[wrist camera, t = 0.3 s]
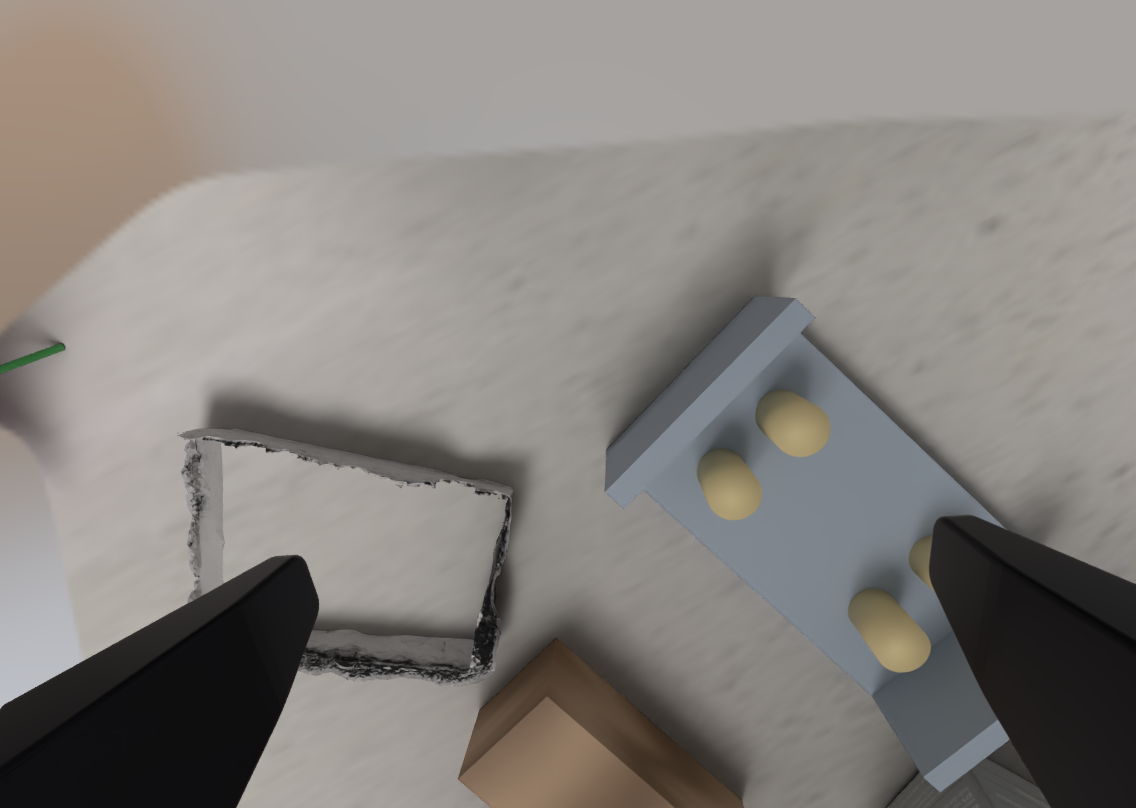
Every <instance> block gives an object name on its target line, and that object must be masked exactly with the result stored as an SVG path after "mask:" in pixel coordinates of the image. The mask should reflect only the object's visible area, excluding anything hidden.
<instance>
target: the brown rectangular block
mask: <svg viewBox="0 0 1136 808" xmlns="http://www.w3.org/2000/svg"><path fill="white" fill-rule="evenodd" d="M458 780H459V781H460V782H461V783H463V784H464V785H465V786H466V787H467V788H469V789H470V790H471V791H472V792H473V793H475V794H476V795H477V796H478V797H479V798H480V799H482V800H483V801H484V802H485V803H486V804H488V805H489V806H490V807H491V808H744V806H743V802H742V801H741V800H740V799H739V798H738V797H737V796H736V795H734V794H733V793H732V792H731V791H730V790H729V789H728V788H727V787H725V786H724V785H723V784H722V783H721V782H720V781H719V780H717V779H716V778H715V777H714V776H713V775H712V774H711V773H709V772H708V771H707V770H706V769H705V768H704V767H703V766H702V765H700V764H699V763H698V762H697V761H696V760H695V759H694V758H692V757H691V756H690V755H689V754H688V753H687V752H686V751H685V750H683V749H682V748H681V747H680V746H679V745H678V744H677V743H675V742H674V741H673V740H672V739H671V738H670V737H669V736H667V735H666V734H665V733H664V732H663V731H662V730H661V729H660V728H658V727H657V726H656V725H655V724H654V723H653V722H652V721H650V720H649V719H648V718H647V717H646V716H645V715H644V714H643V713H641V712H640V711H639V710H638V709H637V708H636V707H635V706H633V705H632V704H631V703H630V702H629V701H628V700H627V699H625V698H624V697H623V696H622V695H621V694H620V693H619V692H618V691H616V690H615V689H614V688H613V687H612V686H611V685H610V684H608V683H607V682H606V681H605V680H604V679H603V678H602V677H600V676H599V675H598V674H597V673H596V672H595V671H594V670H593V669H591V668H590V667H589V666H588V665H587V664H586V663H585V662H583V661H582V660H581V659H580V658H579V657H578V656H577V655H576V654H574V653H573V652H572V651H571V650H570V649H569V648H568V647H566V646H565V645H564V644H563V643H562V642H561V641H560V640H558V639H557V638H555V639H554V640H553V641H552V642H551V643H550V644H549V645H548V646H547V647H546V648H545V649H544V650H543V651H542V652H541V653H540V654H539V655H538V656H537V657H535V658H534V659H533V660H532V661H531V662H530V663H529V664H528V665H527V666H526V667H525V668H524V669H523V670H522V671H521V672H520V673H519V674H518V675H516V676H515V677H514V678H513V679H512V680H511V681H510V682H509V683H508V684H507V685H506V686H505V687H504V688H503V689H502V690H501V691H500V692H499V693H498V694H496V695H495V696H494V697H493V698H492V699H491V700H490V701H489V702H488V703H487V704H486V705H485V706H484V707H483V708H482V709H481V710H480V711H479V713H478V716H477V720H476V723H475V726H474V729H473V732H472V735H471V739H470V742H469V745H468V748H467V751H466V755H465V758H464V761H463V764H462V767H461V770H460V774H459V777H458Z"/></svg>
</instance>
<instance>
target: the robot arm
mask: <svg viewBox="0 0 1136 808" xmlns="http://www.w3.org/2000/svg"><path fill="white" fill-rule="evenodd" d="M929 577H930V581H931V584H932V587H933V589H934V591H935V593H936V595H937V598H938V600H939V602H940V604H941V606H942V608H943V611H944V613H945V615H946V617H947V619H948V621H949V624H950V626H951V628H952V630H953V632H954V634H955V636H956V639H957V641H958V643H959V645H960V647H961V649H962V652H963V654H964V656H965V658H966V660H967V662H968V664H969V667H970V669H971V671H972V673H973V675H974V677H975V679H976V681H977V683H978V685H979V687H980V689H981V691H982V693H983V695H984V696H985V698H986V700H987V702H988V704H989V705H990V707H991V709H992V711H993V712H994V714H995V716H996V717H997V719H998V721H999V722H1000V724H1001V726H1002V727H1003V729H1004V731H1005V732H1006V734H1007V736H1008V737H1009V739H1010V741H1011V742H1012V744H1013V746H1014V747H1015V749H1016V751H1017V752H1018V754H1019V756H1020V757H1021V759H1022V761H1023V762H1024V764H1025V766H1026V767H1027V769H1028V771H1029V772H1030V774H1031V776H1032V777H1033V779H1034V781H1035V782H1036V784H1037V786H1038V787H1039V789H1040V791H1041V792H1042V794H1043V796H1044V797H1045V799H1046V801H1047V802H1048V804H1049V806H1050V807H1051V808H1136V584H1134V583H1132V582H1129V581H1127V580H1125V579H1122V578H1120V577H1118V576H1115V575H1113V574H1111V573H1108V572H1106V571H1104V570H1101V569H1099V568H1096V567H1094V566H1092V565H1089V564H1087V563H1085V562H1082V561H1080V560H1078V559H1075V558H1073V557H1070V556H1068V555H1066V554H1063V553H1061V552H1059V551H1056V550H1054V549H1052V548H1049V547H1047V546H1045V545H1042V544H1040V543H1037V542H1035V541H1033V540H1030V539H1028V538H1026V537H1023V536H1021V535H1019V534H1016V533H1014V532H1012V531H1009V530H1007V529H1004V528H1002V527H1000V526H997V525H995V524H993V523H990V522H988V521H986V520H983V519H981V518H979V517H976V516H973V515H953V516H941V517H939V518H938V519H937V520H936V521H935V523H934V527H933V534H932V542H931V551H930V560H929ZM318 611H319V599H318V595H317V592H316V589H315V586H314V584H313V581H312V578H311V575H310V572H309V569H308V566H307V564H306V561H305V560H304V559H303V558H302V557H301V556H299V555H286V556H275V557H271V558H269V559H267V560H266V561H264V562H262V563H260V564H258V565H257V566H255V567H253V568H251V569H249V570H248V571H246V572H244V573H242V574H240V575H238V576H237V577H235V578H233V579H231V580H229V581H228V582H226V583H224V584H222V585H220V586H218V587H217V588H215V589H213V590H211V591H209V592H208V593H206V594H204V595H202V596H200V597H199V598H197V599H195V600H193V601H191V602H189V603H188V604H186V605H184V606H182V607H180V608H179V609H177V610H175V611H173V612H171V613H170V614H168V615H166V616H164V617H162V618H160V619H159V620H157V621H155V622H153V623H151V624H150V625H148V626H146V627H144V628H142V629H140V630H139V631H137V632H135V633H133V634H131V635H130V636H128V637H126V638H124V639H122V640H121V641H119V642H117V643H115V644H113V645H111V646H110V647H108V648H106V649H104V650H102V651H101V652H99V653H97V654H95V655H93V656H91V657H90V658H88V659H86V660H84V661H82V662H81V663H79V664H77V665H75V666H73V667H72V668H70V669H68V670H66V671H64V672H62V673H61V674H59V675H57V676H55V677H53V678H52V679H50V680H48V681H46V682H44V683H43V684H41V685H39V686H37V687H35V688H34V689H32V690H30V691H28V692H26V693H24V694H23V695H21V696H19V697H17V698H15V699H13V700H12V701H10V702H8V703H6V704H4V705H3V706H2V707H1V709H0V808H236V807H237V805H238V803H239V801H240V799H241V797H242V795H243V793H244V791H245V789H246V787H247V784H248V782H249V780H250V778H251V776H252V774H253V772H254V770H255V768H256V766H257V764H258V761H259V759H260V757H261V755H262V753H263V751H264V749H265V747H266V745H267V743H268V741H269V738H270V736H271V734H272V732H273V730H274V728H275V726H276V724H277V721H278V719H279V717H280V715H281V712H282V710H283V708H284V705H285V703H286V700H287V698H288V695H289V693H290V690H291V687H292V684H293V682H294V679H295V676H296V673H297V671H298V668H299V665H300V662H301V660H302V657H303V654H304V652H305V649H306V646H307V643H308V641H309V638H310V635H311V632H312V630H313V627H314V624H315V621H316V619H317V616H318Z"/></svg>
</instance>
